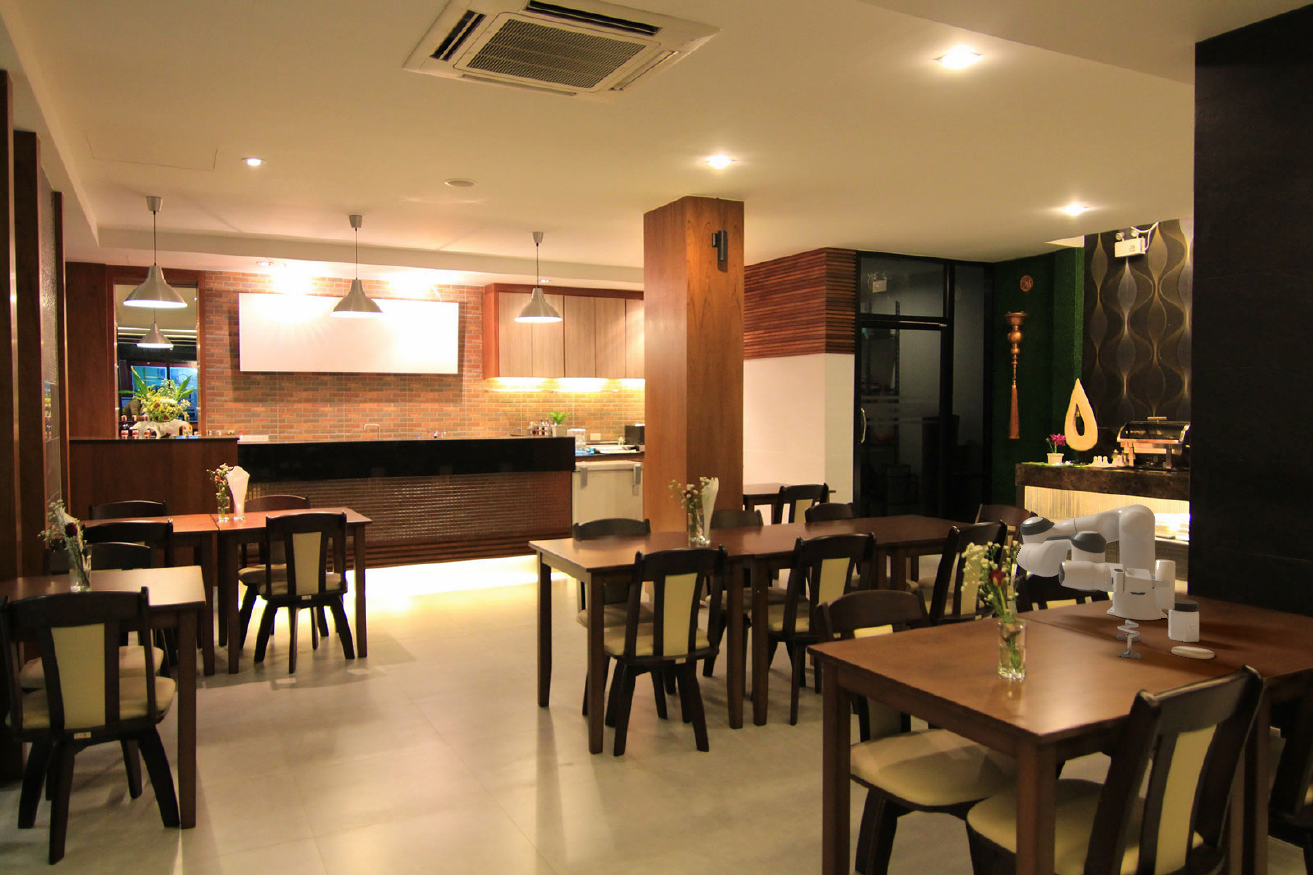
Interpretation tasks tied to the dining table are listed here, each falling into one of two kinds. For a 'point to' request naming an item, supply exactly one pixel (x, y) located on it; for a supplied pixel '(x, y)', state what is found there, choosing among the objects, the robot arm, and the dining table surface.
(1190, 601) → the jar
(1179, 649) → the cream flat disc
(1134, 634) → the coil spring stand
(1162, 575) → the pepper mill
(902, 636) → the dining table surface
